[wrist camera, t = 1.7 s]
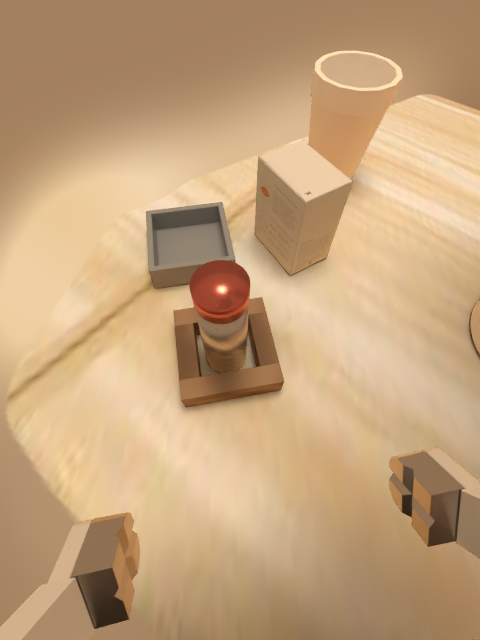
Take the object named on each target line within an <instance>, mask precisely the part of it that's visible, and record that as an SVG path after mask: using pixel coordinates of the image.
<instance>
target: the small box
mask: <svg viewBox="0 0 480 640" xmlns="http://www.w3.org/2000/svg"><path fill="white" fill-rule="evenodd" d="M352 183H353V181H352V180H351V179H350V178H348V177H347V176H346V175H345V174H343V173H342V172H341V171H340V170H339V169H337V168H336V167H335V166H334V165H332V164H331V163H330V162H329V161H327V160H326V159H325V158H324V157H323V156H321V155H320V154H319V153H318V152H316V151H315V150H314V149H313V148H312V147H310V146H309V145H308V144H307V143H305V142H304V141H300V142H297V143H294V144H291V145H288V146H286V147H283V148H280V149H277V150H274V151H272V152H269V153H266V154H263V155H261V156H259V157H258V173H257V193H256V216H255V235H256V236H257V237H258V239H259V240H260V241H261V242H262V243H263V244H264V246H265V247H266V248H267V249H268V250H269V251H270V253H271V254H272V255H273V256H274V257H275V258H276V260H277V261H278V262H279V263H280V264H281V265H282V267H283V268H284V269H285V270H286V271H287V272H288V274H289V275H292V274H294V273H296V272H298V271H300V270H302V269H304V268H306V267H308V266H310V265H312V264H314V263H316V262H318V261H320V260H322V259H324V258H326V257H327V255H328V252H329V249H330V246H331V243H332V241H333V238H334V235H335V232H336V229H337V226H338V223H339V221H340V218H341V215H342V212H343V209H344V206H345V203H346V201H347V198H348V195H349V192H350V189H351V186H352Z"/></svg>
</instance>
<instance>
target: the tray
mask: <svg viewBox="0 0 480 640" xmlns="http://www.w3.org/2000/svg"><path fill="white" fill-rule="evenodd" d="M146 221H147V244H148V266H149V273H150V276H151V278H152V281H153V283H154V285H155V288H156V289H157V288H164V287H171V286H177V285H184V284H190V280H191V277H192V275H193V273H194V272H195V271H196V270H197V269H198V268H199V267H200V266H201V265H203V264H205V263H207V262H210V261H215V260H227V261H231V262H234V263H235V256H234V251H233V247H232V243H231V238H230V234H229V229H228V225H227V221H226V216H225V212H224V207H223V203H222V202H219V203H210V204H202V205H194V206H186V207H177V208H169V209H161V210H153V211H146Z"/></svg>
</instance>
